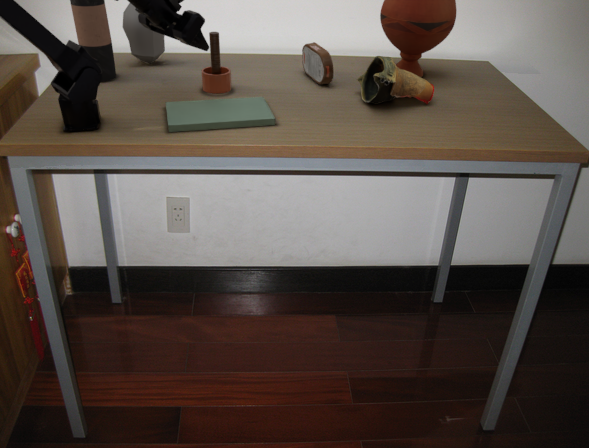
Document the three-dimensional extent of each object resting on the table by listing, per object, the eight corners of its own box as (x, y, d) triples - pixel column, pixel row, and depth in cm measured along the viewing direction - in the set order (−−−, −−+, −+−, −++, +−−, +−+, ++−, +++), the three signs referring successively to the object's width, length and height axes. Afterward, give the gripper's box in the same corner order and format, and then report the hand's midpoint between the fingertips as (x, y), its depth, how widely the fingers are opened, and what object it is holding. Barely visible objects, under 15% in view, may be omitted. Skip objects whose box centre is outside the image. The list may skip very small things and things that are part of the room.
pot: (456, 72, 110) (385, 46, 104) (439, 122, 112) (369, 99, 106) (417, 73, 126) (355, 51, 120) (403, 117, 128) (341, 97, 122)
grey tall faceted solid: (172, 69, 133) (159, -59, 116) (128, 71, 131) (108, -60, 114) (169, 57, 142) (157, -64, 125) (128, 58, 140) (110, -64, 123)
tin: (333, 88, 125) (336, 54, 121) (321, 89, 124) (324, 55, 120) (310, 70, 137) (311, 38, 132) (299, 71, 136) (300, 39, 131)
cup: (204, 96, 117) (202, 75, 114) (201, 86, 123) (200, 66, 120) (233, 95, 119) (232, 74, 116) (229, 85, 124) (228, 65, 121)
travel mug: (108, 83, 122) (92, -5, 111) (79, 80, 123) (61, -7, 112) (123, 74, 128) (109, -10, 117) (95, 71, 129) (79, -13, 118)
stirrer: (211, 91, 119) (207, 34, 111) (209, 86, 121) (206, 31, 114) (224, 90, 120) (222, 34, 112) (222, 86, 122) (220, 30, 115)
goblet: (450, 86, 130) (473, -19, 116) (377, 83, 130) (391, -22, 115) (435, 64, 145) (453, -31, 131) (369, 61, 145) (381, -34, 131)
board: (168, 132, 100) (168, 125, 99) (166, 108, 110) (165, 101, 110) (275, 125, 105) (275, 118, 104) (263, 102, 115) (263, 96, 115)
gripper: (192, -32, 93) (241, 22, 106) (143, -43, 104) (192, 7, 117) (160, 18, 93) (212, 66, 106) (114, 1, 104) (166, 46, 117)
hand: (196, 44), depth 111 cm, fingers open, 9 cm apart
